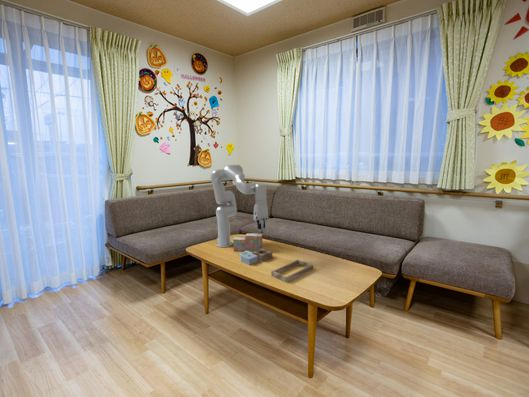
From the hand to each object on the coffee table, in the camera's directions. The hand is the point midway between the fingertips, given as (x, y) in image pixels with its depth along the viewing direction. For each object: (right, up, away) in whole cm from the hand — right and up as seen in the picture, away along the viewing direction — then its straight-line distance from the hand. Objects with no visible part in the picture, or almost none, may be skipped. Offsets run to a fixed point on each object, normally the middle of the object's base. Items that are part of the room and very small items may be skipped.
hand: (261, 228), depth 191 cm
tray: (-11, -21, +7) cm, 24 cm away
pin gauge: (0, -3, 0) cm, 3 cm away
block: (-8, -22, -3) cm, 24 cm away
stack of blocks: (-10, -19, +19) cm, 29 cm away
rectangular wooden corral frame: (+20, -25, -21) cm, 38 cm away
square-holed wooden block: (+1, -21, +4) cm, 21 cm away
